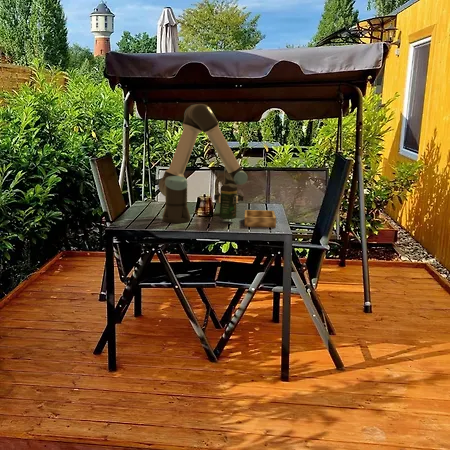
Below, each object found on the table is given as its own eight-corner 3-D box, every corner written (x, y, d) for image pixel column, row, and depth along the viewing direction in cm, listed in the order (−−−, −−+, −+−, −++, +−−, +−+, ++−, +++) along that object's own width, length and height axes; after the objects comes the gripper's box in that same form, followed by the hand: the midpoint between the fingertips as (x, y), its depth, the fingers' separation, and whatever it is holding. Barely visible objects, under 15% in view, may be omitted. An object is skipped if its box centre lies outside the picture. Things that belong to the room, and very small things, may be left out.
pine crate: (244, 226, 241) (244, 217, 240) (244, 218, 261) (244, 210, 260) (275, 227, 241) (276, 217, 240) (273, 219, 260) (273, 210, 259)
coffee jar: (230, 220, 245) (231, 185, 241) (217, 218, 248) (218, 184, 245) (238, 217, 253) (239, 183, 250) (225, 216, 257) (226, 182, 253)
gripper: (247, 201, 267) (248, 208, 245) (210, 199, 267) (207, 206, 245) (248, 188, 265) (248, 193, 243) (211, 186, 266) (208, 192, 244)
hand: (228, 200), depth 244 cm, fingers closed on coffee jar, 8 cm apart
